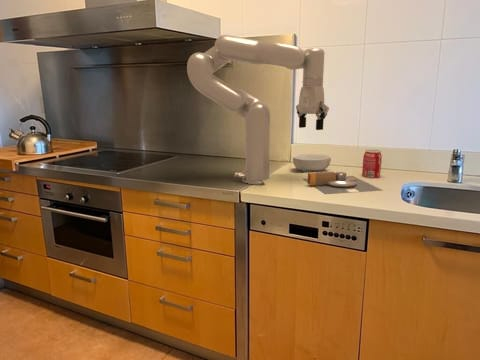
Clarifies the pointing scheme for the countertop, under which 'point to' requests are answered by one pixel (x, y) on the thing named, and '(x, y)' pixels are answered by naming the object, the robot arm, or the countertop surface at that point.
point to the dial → (331, 179)
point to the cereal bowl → (311, 162)
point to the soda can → (372, 164)
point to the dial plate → (360, 187)
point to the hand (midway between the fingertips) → (310, 128)
